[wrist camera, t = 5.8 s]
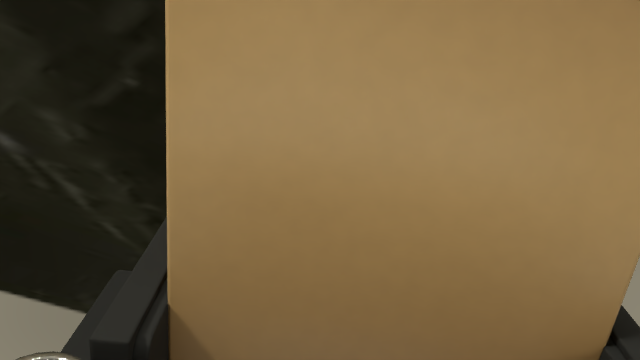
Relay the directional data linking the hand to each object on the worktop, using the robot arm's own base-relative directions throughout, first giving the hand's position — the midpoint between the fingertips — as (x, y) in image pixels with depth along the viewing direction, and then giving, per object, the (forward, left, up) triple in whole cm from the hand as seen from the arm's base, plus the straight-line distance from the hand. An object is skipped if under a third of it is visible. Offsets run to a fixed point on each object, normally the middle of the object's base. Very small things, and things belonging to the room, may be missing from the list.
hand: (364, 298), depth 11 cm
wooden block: (0, 0, -1) cm, 1 cm away
